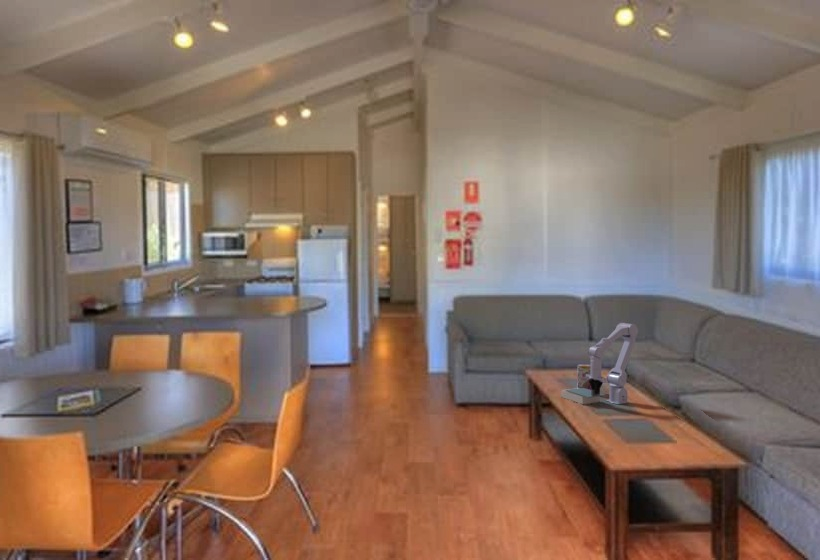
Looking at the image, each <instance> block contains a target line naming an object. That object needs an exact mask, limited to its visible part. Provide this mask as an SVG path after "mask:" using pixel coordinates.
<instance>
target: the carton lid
mask: <svg viewBox="0 0 820 560" xmlns="http://www.w3.org/2000/svg"><path fill="white" fill-rule="evenodd" d="M571 389H572V390H567V391H568V392H571V393H574V394H577V395H580V396H584V397H587V398H592V397H599V396H600V397H604V396H607V395H606V394H605V393H602V392H601V390H600V391H599V394H595V390H589V389H586V388H579V389H574V388H571Z"/></svg>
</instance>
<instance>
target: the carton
mask: <svg viewBox="0 0 820 560" xmlns="http://www.w3.org/2000/svg"><path fill="white" fill-rule="evenodd" d="M572 389H579V388H577V387H573V388H569V389H561V399H563V398H565V399H564V400H566V399H568V400H567V401H569V400H571V401H570V402H572V401H574V402H573V403H575V402H577V403H576V404H578V403H580V404H579V405H581V404H582V405H581V406H584V405H583V404H585V405H590V404H591V403H592V404H599V403H600V402H601V401H600V400H601V396H599V397H592V398H587V397H584V396H580V395H577V394H574V393H571V392H568V391H567V390H572ZM592 404H591V405H592Z"/></svg>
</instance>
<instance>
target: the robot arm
mask: <svg viewBox="0 0 820 560" xmlns="http://www.w3.org/2000/svg"><path fill="white" fill-rule="evenodd" d="M638 334H639V329H638V326H637V325H636V324H634V323H627V322H619V323H618V324H617V325H616V327H615V330H613V331H612V332H610V334H609V335H608V337H602V338H601V340H599V342H597V343H596V344H595V345H592V346H591V347H589V349H588V353H587V354H588V356H589V360H590V365H591V372H590V374H586V378H589V379H591V380H589V383H590V385H591V388H592V390H595V394H599V391H600V392H601V387H602V385H603V384H606V383H608V386H609V394H608V397H609V399H605V401H606V402H608V403H612V404H615V405H623V404H629V401H628V390H627V388H625V385H626V383H627V377H628V373H627V372H626V369H627V366H628V363H629V360H630V357H631V355H632V352H633V349H634V347H635V344H636V338H637V335H638ZM620 337H621V338H622V339H623V340H624V341H623V343H622V344H623V345H622V346H621V347H622V348H620V349H621V350H620V352H619V355H618V358H617V361H616V363H615V365H614V367H613V368H611V369H610V370H609V373H607V375H606V378H604V377H603V376H602V358H603V357H604V355H605V353H606V351H607V350H608V349H610V348H611V347H612V345H613V344H612V343H613V342H615V341H616V340H617V339H618V338H620Z"/></svg>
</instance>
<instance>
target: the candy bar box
mask: <svg viewBox="0 0 820 560" xmlns="http://www.w3.org/2000/svg"><path fill="white" fill-rule="evenodd" d="M576 366H577V372H576V373H577V376H576V377H577V381H576V388H586V389H589V390H592V388H591V385H590V383H589V380H591V379H589V378H586V374H590V372H591V364H577V365H576Z"/></svg>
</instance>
